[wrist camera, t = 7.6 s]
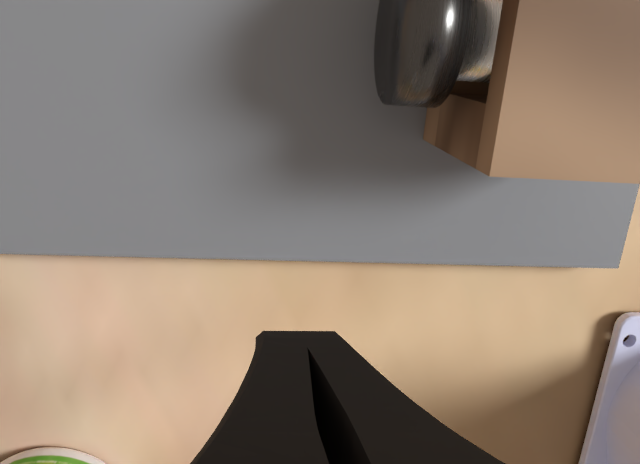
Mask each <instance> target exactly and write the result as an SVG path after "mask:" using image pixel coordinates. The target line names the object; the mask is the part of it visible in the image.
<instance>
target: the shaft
mask: <svg viewBox="0 0 640 464" xmlns="http://www.w3.org/2000/svg"><path fill="white" fill-rule="evenodd" d="M502 3H503V0H380V2H379V8H378V14H377V21H376V31H375V44H374V72H375V82H376V88H377V93H378V96H379V98H380V100H381V102H382V103H383V104H385V105H396V106H411V107H426V108H436V107H438V106H440V105H441V104H442V103H443V102H444V101H445V100H446V99H447V97H448V96H449V94H450V92H451V91H452V88H453V86H454V84H455V82H456V80H457V81H470V82H484V83H490V77H491V71H492V64H493V58H494V52H495V46H496V40H497V34H498V28H499V21H500V15H501V9H502Z"/></svg>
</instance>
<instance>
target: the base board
mask: <svg viewBox="0 0 640 464" xmlns="http://www.w3.org/2000/svg"><path fill="white" fill-rule="evenodd" d="M379 2H380V0H0V254H29V255H71V256H114V257H156V258H199V259H241V260H284V261H326V262H369V263H411V264H454V265H496V266H539V267H581V268H619V264H620V260H621V256H622V252H623V248H624V244H625V240H626V236H627V232H628V228H629V224H630V220H631V216H632V212H633V208H634V204H635V200H636V196H637V192H638V188H639V184H633V183H612V182H592V181H571V180H550V179H530V178H509V177H489V176H488V175H486V174H484V173H482V172H480V171H479V170H477V169H475V168H473V167H471V166H470V165H468V164H466V163H464V162H462V161H461V160H459V159H457V158H455V157H453V156H452V155H450V154H448V153H446V152H444V151H443V150H441V149H439V148H437V147H435V146H434V145H432V144H430V143H428V142H427V141H425V140H423V135H424V127H425V120H426V112H427V108H426V107H411V106H396V105H385V104H383V103H382V102H381V100H380V98H379V96H378V93H377V88H376V82H375V72H374V44H375V31H376V21H377V14H378V8H379Z"/></svg>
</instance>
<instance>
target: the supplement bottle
mask: <svg viewBox="0 0 640 464" xmlns="http://www.w3.org/2000/svg"><path fill="white" fill-rule="evenodd" d="M0 464H106V463H105V462H103V461H102V460H100V459H98V458H96V457H94V456H92V455H90V454H87V453H84V452H81V451H77V450H73V449H69V448H61V447H43V448H35V449H31V450H27V451H23V452H20V453H18V454H15V455H13V456H11V457H9V458H7V459H5V460H4V461H2V462H0Z"/></svg>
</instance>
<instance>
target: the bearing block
mask: <svg viewBox="0 0 640 464" xmlns="http://www.w3.org/2000/svg"><path fill="white" fill-rule="evenodd" d="M423 140H425V141H427V142H428V143H430V144H432V145H434V146H435V147H437V148H439V149H441V150H443V151H444V152H446V153H448V154H450V155H452V156H453V157H455V158H457V159H459V160H461V161H462V162H464V163H466V164H468V165H470V166H471V167H473V168H475V169H477V170H479V171H480V172H482V173H484V174H486V175H488V176H489V177H509V178H530V179H550V180H571V181H592V182H612V183H633V184H640V0H503V3H502V9H501V15H500V21H499V28H498V34H497V40H496V46H495V52H494V58H493V64H492V71H491V77H490V83H484V82H470V81H457V80H456V82H455V84H454V86H453V88H452V91H451V92H450V94H449V96H448V97H447V99H446V100H445V101H444V102H443V103H442V104H441V105H440V106H438V107H436V108H427V112H426V120H425V127H424V135H423Z"/></svg>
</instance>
